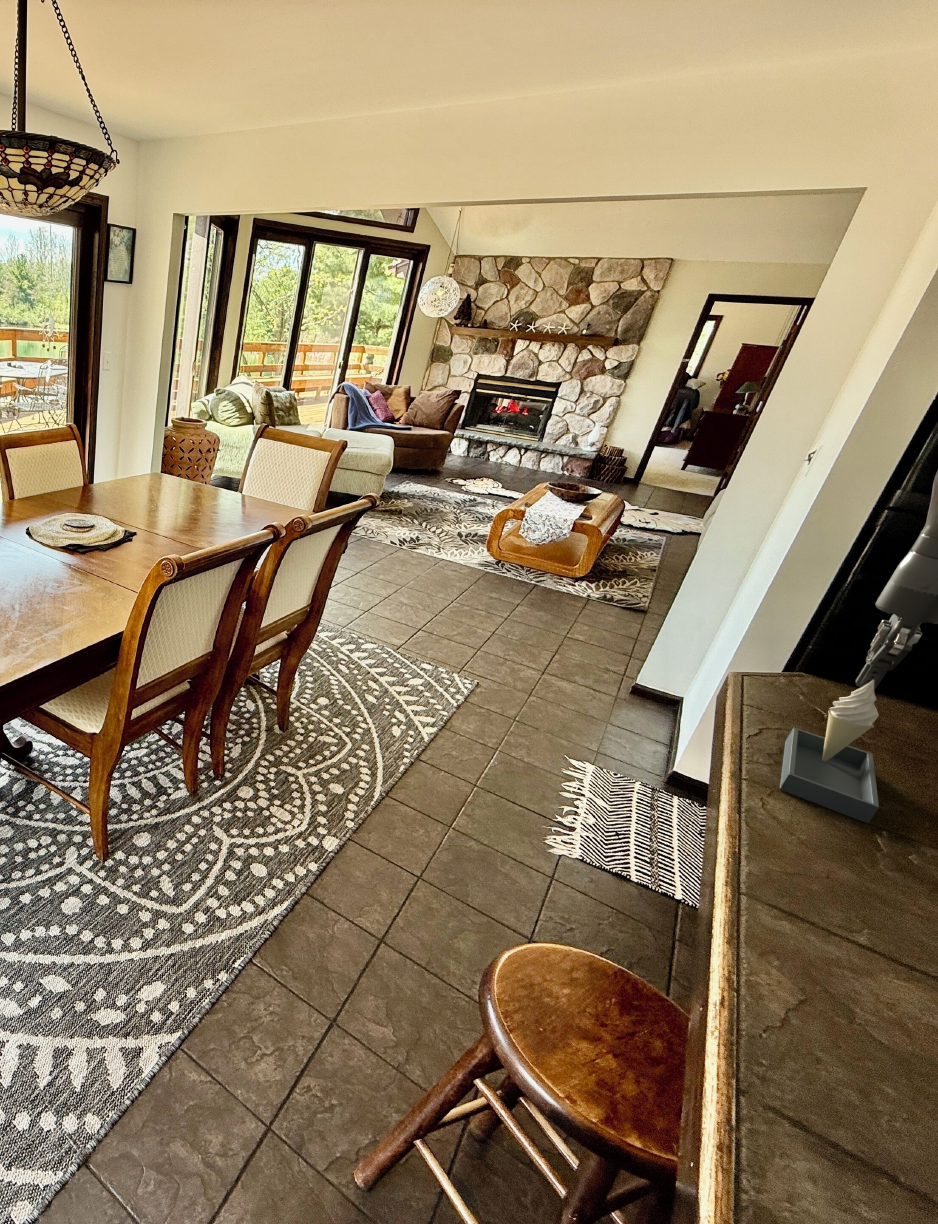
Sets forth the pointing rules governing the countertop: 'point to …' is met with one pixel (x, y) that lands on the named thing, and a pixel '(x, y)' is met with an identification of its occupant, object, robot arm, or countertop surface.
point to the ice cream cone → (849, 719)
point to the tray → (830, 776)
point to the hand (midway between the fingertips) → (864, 686)
